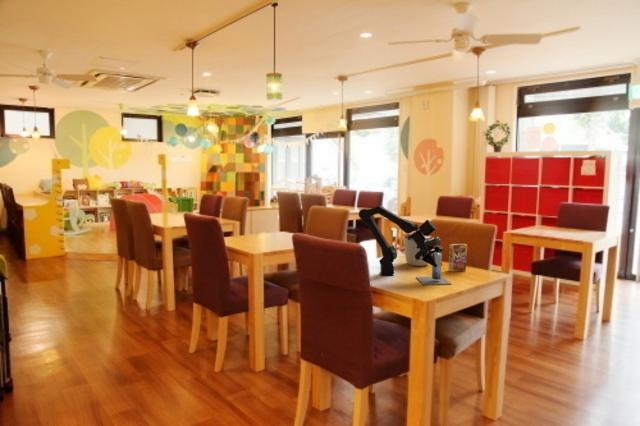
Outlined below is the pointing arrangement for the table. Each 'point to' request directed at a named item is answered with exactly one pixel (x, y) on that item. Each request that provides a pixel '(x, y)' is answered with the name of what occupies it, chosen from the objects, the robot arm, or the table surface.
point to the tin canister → (437, 270)
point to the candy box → (457, 257)
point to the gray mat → (433, 281)
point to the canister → (413, 251)
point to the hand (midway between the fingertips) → (439, 266)
